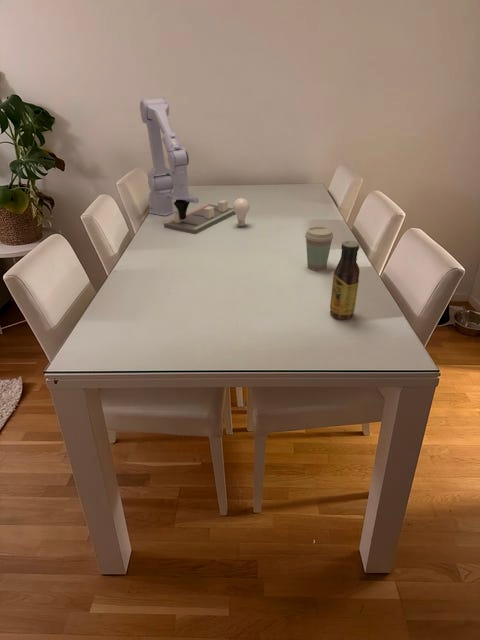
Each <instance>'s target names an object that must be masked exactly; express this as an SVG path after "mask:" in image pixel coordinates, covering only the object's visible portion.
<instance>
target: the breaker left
mask: <svg viewBox="0 0 480 640" xmlns="http://www.w3.org/2000/svg"><path fill="white" fill-rule="evenodd" d="M217 206H218V211H220V212H224V211H227V210H228V208H229V202H228V200H225V199H222V200H220V201H218V202H217Z"/></svg>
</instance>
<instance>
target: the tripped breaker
mask: <svg viewBox="0 0 480 640" xmlns="http://www.w3.org/2000/svg"><path fill="white" fill-rule="evenodd" d="M172 214H173V220H174V222H176V223H180V222H182V221H185V220H184V219H183V220H181V219H180V214H179V211H178V210H177V211H176V212H173V213H172Z"/></svg>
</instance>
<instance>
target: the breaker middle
mask: <svg viewBox="0 0 480 640" xmlns="http://www.w3.org/2000/svg"><path fill="white" fill-rule="evenodd" d="M212 217H214V207H211V206H208V207H206V208H204V218H208V219H210V218H212Z"/></svg>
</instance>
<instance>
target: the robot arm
mask: <svg viewBox="0 0 480 640" xmlns="http://www.w3.org/2000/svg"><path fill="white" fill-rule="evenodd" d="M139 111H140V117H141V118H140V119H141V120H142V121H141V122H142V123H143V124H146V128H147V134H148V140H149V141H148V142H149V147H150V154H151V160H152V164H153V167H152V168H151V169H150V170H149V172H148V174H147V178H148V179H147V184H148V188H149V190H150V191H149V193H148V205H149V211H148V213H149V214H154V215H158V216H164V217H166V216H169V215H171V214H173V212H176V211H179V214H180V219H181V220H183V219H186V214H187V211H188V207H189V205H190V203H193V204H198V203H199V197H198V196H195V195H192V194H190V193H189V181H188V180H189V179H188V169H187V168H188V167H187V166H188V165H189V163H190V157H189V156H190V155H189V153H188V150H187V149H186V148H185V147H184V146H182V143H181V142H180V139H179V136H178V134H177V133H176V132H174V131H173V129H172V126H171V122H170V119H169V115H170V114H169V113H170V105H169V101H168V99H167V98H166V97H160V98H146V99H145V98H141V100H140V104H139ZM162 135H163V136H162ZM163 145H164V147H163ZM164 148H165V150H166V152H167V162H168V165H169V168H168V167H167V166H166V162H165V161H166V160H165V155H164ZM173 200H175V201H174V202H173ZM173 205H174V206H175V208H176V209H174V207H173Z"/></svg>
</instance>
